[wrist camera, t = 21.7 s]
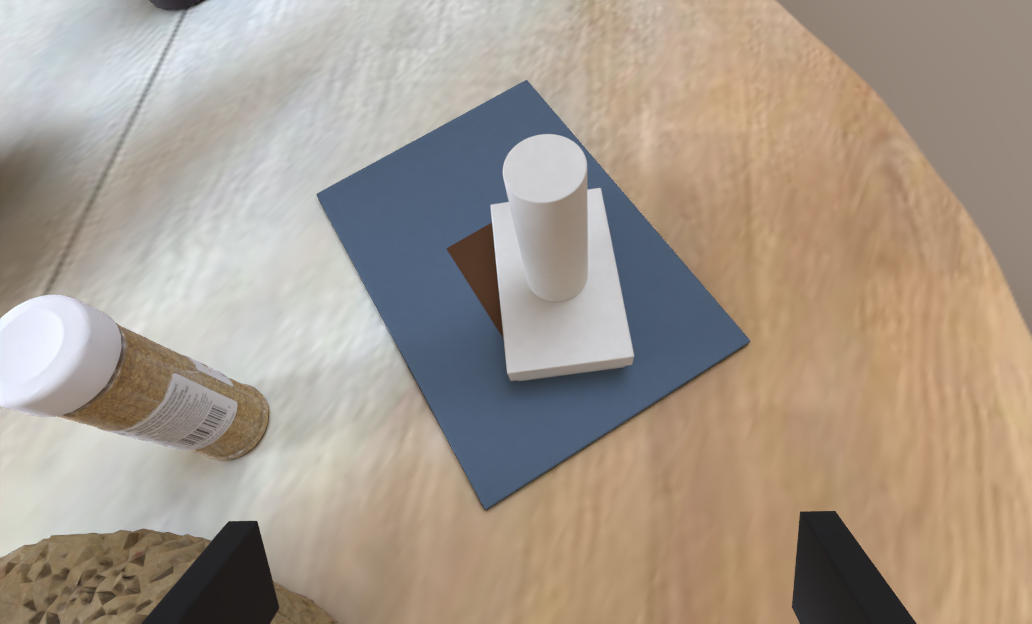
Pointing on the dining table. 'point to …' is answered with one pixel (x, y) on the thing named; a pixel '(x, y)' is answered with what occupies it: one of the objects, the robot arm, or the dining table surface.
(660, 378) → the mat
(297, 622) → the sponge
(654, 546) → the dining table surface
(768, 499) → the dining table surface
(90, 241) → the dining table surface
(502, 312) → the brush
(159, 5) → the vinegar
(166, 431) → the sprinkles bottle
